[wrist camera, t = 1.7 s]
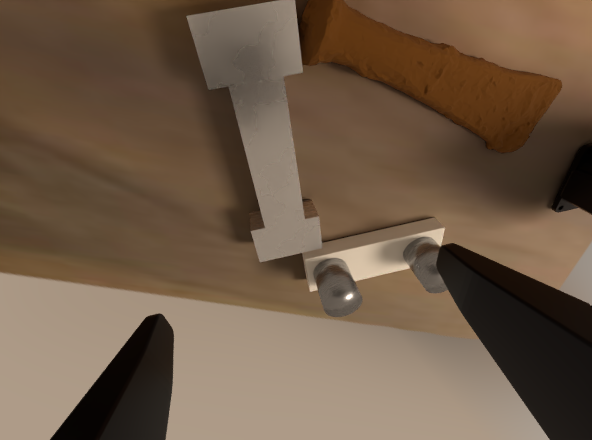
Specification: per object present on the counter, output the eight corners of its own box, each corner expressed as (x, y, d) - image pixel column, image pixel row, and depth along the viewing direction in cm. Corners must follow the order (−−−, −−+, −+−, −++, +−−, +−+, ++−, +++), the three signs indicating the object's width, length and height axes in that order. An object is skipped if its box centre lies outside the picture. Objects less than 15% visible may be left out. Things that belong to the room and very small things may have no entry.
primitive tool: (559, 81, 20) (613, 92, 17) (508, 154, 23) (547, 172, 20) (305, -23, 14) (323, -33, 12) (279, 90, 17) (288, 104, 14)
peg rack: (434, 217, 25) (473, 255, 21) (428, 250, 27) (462, 290, 23) (301, 247, 24) (314, 293, 20) (306, 279, 26) (319, 325, 22)
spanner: (286, 1, 14) (294, -3, 12) (315, 229, 23) (322, 248, 21) (192, 16, 14) (186, 15, 12) (257, 242, 23) (259, 262, 21)
